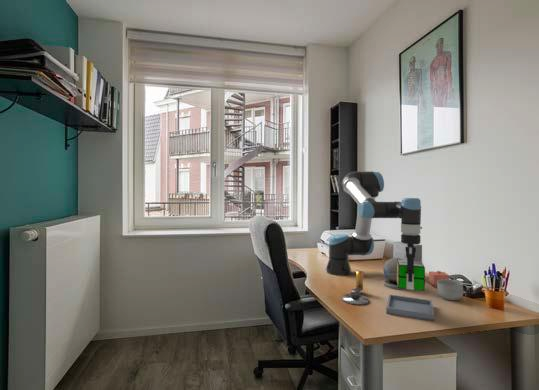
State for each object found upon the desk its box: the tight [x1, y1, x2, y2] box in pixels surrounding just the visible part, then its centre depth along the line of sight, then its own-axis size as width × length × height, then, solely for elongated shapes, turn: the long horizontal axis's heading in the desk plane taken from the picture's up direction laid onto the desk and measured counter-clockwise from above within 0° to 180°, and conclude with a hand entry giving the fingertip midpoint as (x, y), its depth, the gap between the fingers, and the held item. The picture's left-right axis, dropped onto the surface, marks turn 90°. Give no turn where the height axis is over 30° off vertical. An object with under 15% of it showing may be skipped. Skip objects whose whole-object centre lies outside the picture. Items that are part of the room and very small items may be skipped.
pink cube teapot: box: [428, 270, 451, 289], centre depth 162 cm, size 8×12×8 cm, turn 173°
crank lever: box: [350, 270, 364, 299], centre depth 146 cm, size 16×4×9 cm, turn 155°
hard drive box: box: [392, 240, 423, 263], centre depth 181 cm, size 16×8×20 cm, turn 22°
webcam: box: [382, 257, 406, 291], centre depth 163 cm, size 13×13×15 cm
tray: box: [385, 294, 435, 322], centre depth 130 cm, size 18×18×2 cm
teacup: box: [437, 279, 464, 301], centre depth 145 cm, size 14×11×8 cm
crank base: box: [341, 293, 370, 306], centre depth 141 cm, size 12×12×1 cm
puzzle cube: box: [397, 260, 426, 292], centre depth 130 cm, size 10×10×10 cm
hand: (410, 285), depth 130 cm, fingers closed on puzzle cube, 10 cm apart
